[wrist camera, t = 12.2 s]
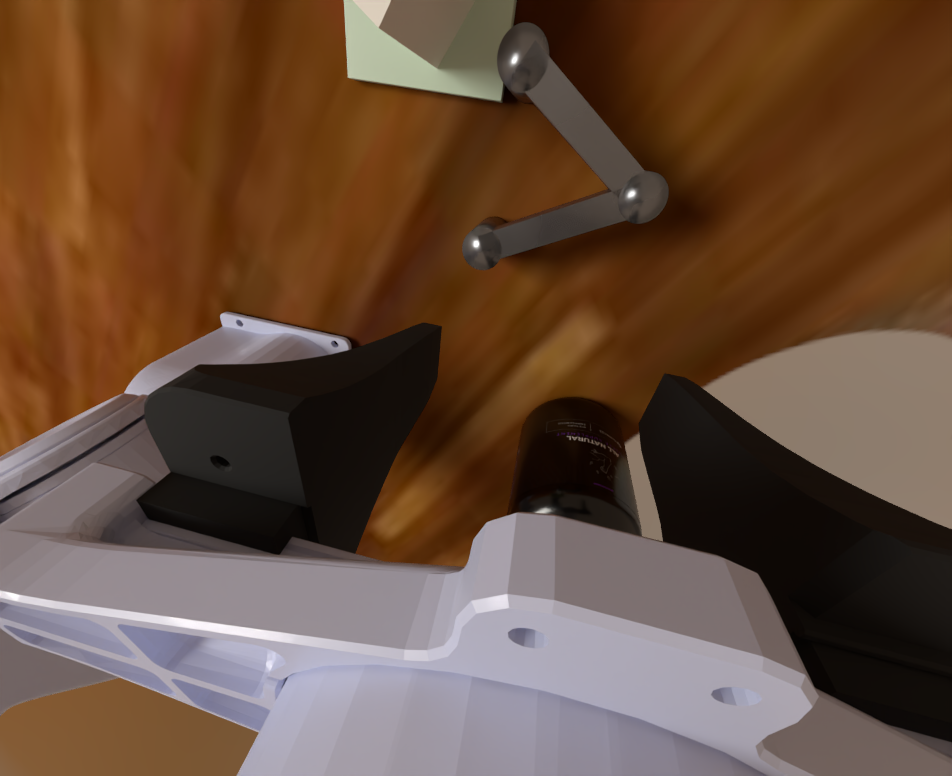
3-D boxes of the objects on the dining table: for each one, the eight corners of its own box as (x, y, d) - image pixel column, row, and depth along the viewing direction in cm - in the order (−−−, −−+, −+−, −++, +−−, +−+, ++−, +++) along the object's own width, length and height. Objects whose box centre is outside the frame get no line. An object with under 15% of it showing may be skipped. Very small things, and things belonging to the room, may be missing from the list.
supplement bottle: (612, 384, 22) (654, 564, 13) (627, 463, 26) (669, 656, 16) (508, 402, 25) (474, 567, 15) (533, 472, 28) (519, 647, 18)
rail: (475, 249, 20) (460, 266, 17) (501, 43, 15) (487, 16, 12) (618, 276, 19) (628, 298, 16) (692, 70, 14) (726, 49, 11)
